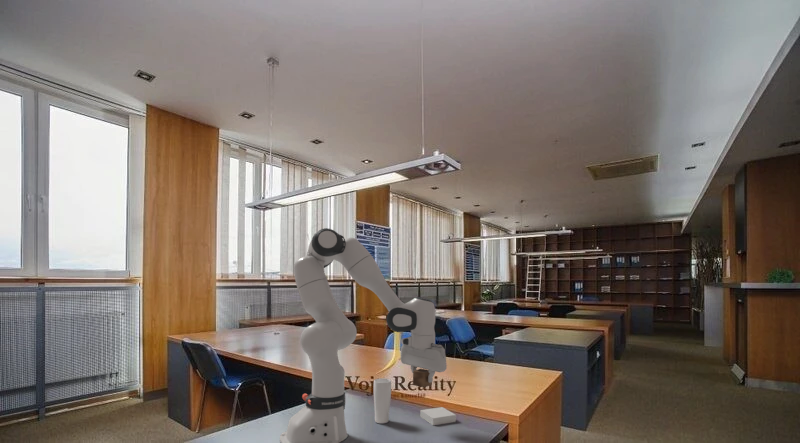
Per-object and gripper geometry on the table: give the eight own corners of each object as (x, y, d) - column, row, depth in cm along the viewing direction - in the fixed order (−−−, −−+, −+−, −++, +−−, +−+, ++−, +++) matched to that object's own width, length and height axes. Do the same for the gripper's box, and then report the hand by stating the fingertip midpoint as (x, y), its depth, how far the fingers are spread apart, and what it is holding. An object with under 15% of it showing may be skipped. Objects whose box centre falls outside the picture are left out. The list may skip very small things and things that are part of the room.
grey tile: (433, 425, 154) (433, 418, 155) (420, 416, 163) (420, 410, 164) (455, 421, 158) (455, 414, 159) (442, 413, 167) (442, 407, 168)
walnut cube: (412, 385, 152) (413, 370, 153) (420, 382, 156) (420, 368, 157) (424, 387, 149) (424, 373, 150) (431, 384, 153) (432, 370, 154)
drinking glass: (388, 425, 153) (389, 383, 155) (370, 423, 155) (371, 382, 157) (392, 419, 160) (393, 378, 162) (375, 417, 161) (376, 377, 163)
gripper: (450, 344, 150) (450, 384, 148) (409, 337, 164) (408, 373, 163) (439, 346, 145) (438, 387, 144) (398, 338, 160) (397, 376, 158)
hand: (422, 380), depth 153 cm, fingers closed on walnut cube, 5 cm apart
